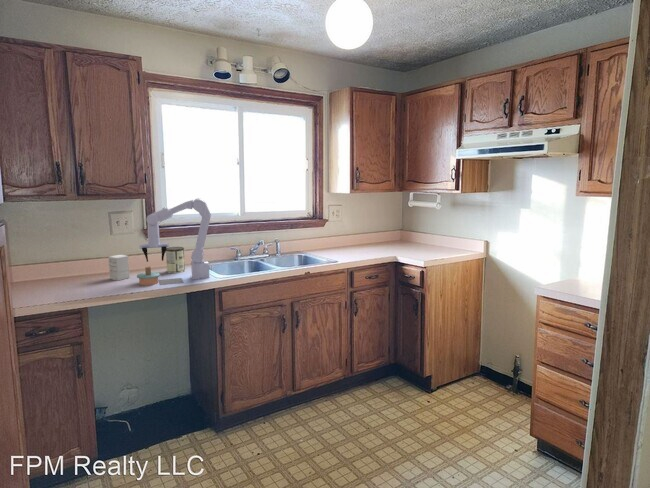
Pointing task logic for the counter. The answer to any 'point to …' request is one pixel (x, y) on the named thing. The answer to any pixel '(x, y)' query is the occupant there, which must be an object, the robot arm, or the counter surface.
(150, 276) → the lid
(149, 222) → the robot arm
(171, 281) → the mat
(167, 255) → the coffee can
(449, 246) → the counter surface
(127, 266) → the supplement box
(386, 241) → the counter surface
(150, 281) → the bowl
